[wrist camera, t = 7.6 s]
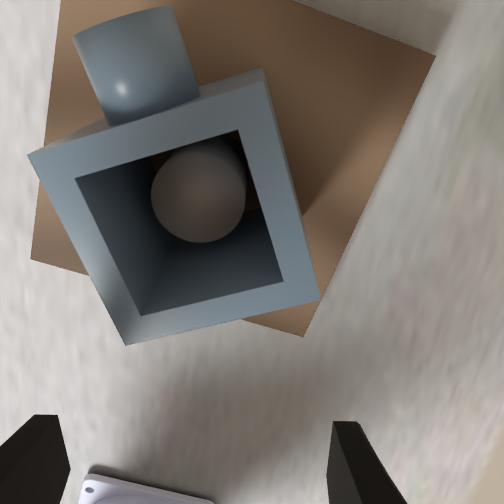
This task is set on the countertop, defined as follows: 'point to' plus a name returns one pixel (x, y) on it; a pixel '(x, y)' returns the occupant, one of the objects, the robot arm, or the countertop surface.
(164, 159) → the base
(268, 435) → the countertop surface
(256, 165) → the duct sleeve
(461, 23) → the countertop surface
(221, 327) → the countertop surface
